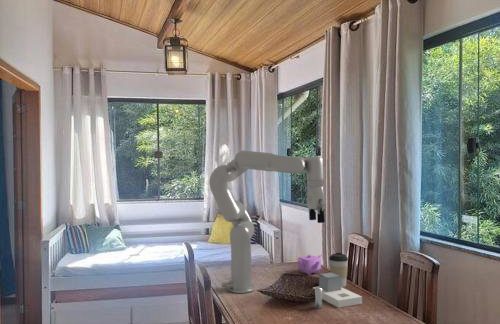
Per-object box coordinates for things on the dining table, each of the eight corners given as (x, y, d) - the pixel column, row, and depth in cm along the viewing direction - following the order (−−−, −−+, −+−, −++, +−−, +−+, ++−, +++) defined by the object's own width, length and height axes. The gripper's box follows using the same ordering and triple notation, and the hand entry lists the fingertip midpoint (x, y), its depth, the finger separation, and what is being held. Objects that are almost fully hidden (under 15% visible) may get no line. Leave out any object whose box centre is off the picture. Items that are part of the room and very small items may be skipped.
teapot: (305, 278, 225) (305, 259, 225) (289, 273, 236) (289, 255, 236) (331, 273, 235) (331, 255, 235) (314, 268, 246) (314, 250, 246)
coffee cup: (348, 288, 209) (348, 256, 209) (329, 287, 211) (328, 255, 211) (348, 282, 218) (347, 252, 218) (329, 281, 220) (329, 251, 219)
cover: (328, 291, 193) (327, 278, 193) (319, 287, 200) (319, 274, 200) (341, 289, 196) (341, 276, 196) (332, 285, 203) (332, 272, 203)
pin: (317, 308, 181) (317, 289, 181) (314, 306, 184) (314, 287, 183) (323, 307, 182) (323, 288, 182) (319, 305, 185) (319, 286, 185)
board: (338, 307, 182) (338, 300, 182) (312, 294, 200) (312, 287, 200) (362, 303, 187) (362, 296, 187) (334, 290, 205) (334, 283, 205)
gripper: (300, 183, 208) (302, 219, 208) (315, 185, 191) (316, 224, 191) (315, 182, 209) (317, 218, 210) (330, 184, 193) (332, 223, 193)
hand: (316, 221), depth 200 cm, fingers open, 9 cm apart
